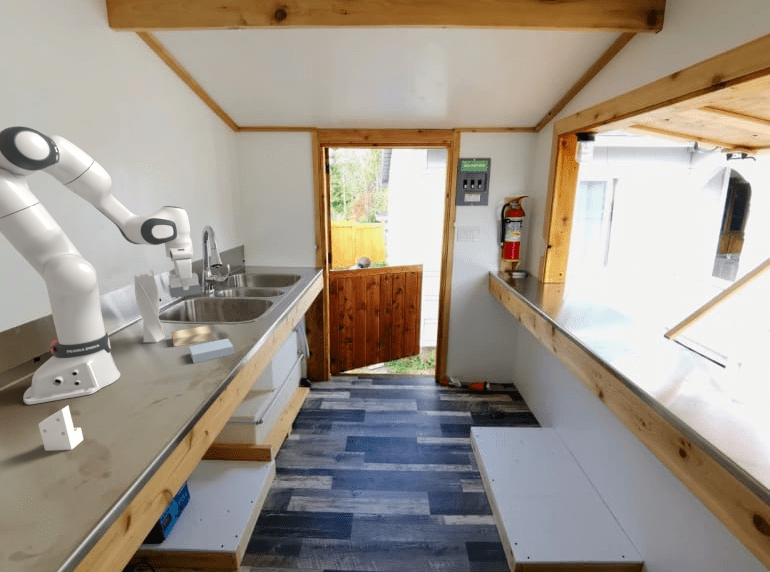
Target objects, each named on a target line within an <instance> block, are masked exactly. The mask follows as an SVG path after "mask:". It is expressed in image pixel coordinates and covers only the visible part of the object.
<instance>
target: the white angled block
mask: <svg viewBox="0 0 770 572" xmlns="http://www.w3.org/2000/svg"><path fill="white" fill-rule="evenodd" d="M70 411H71V410H70V406H69V405H66V406H65V407H63V408H61V409H59V410H57V411H56V412H55V413H53V414H51V415H49V416H48V417H46V418H45V419H43V420H42V421H41V422H39V423H37V424H38V429H39V433H40V436H41V440H42V443H43V448H44V451H45V452H46V451H48V452H49V451H69V450H70V451H71V450H73V449H74V448H76V447H77V446H78V445H79V444H81V442H83V441H84V436H83V432H82V427H74V423H73V418H72V415H71V412H70Z"/></svg>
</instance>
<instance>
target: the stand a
mask: <svg viewBox="0 0 770 572" xmlns="http://www.w3.org/2000/svg"><path fill="white" fill-rule="evenodd" d="M170 334H171V340H172V343H173V347H174V348H175V346H176V347H181V346H185V345H189V344H195V343H200V342H206V341H210V340H212V339H213V336H212V331H211V329H210V327H209V326H208V325H203V326H202V325H201V326H198V327H193V328H187V329H181V330H176V331H170ZM180 345H181V346H180Z"/></svg>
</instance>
